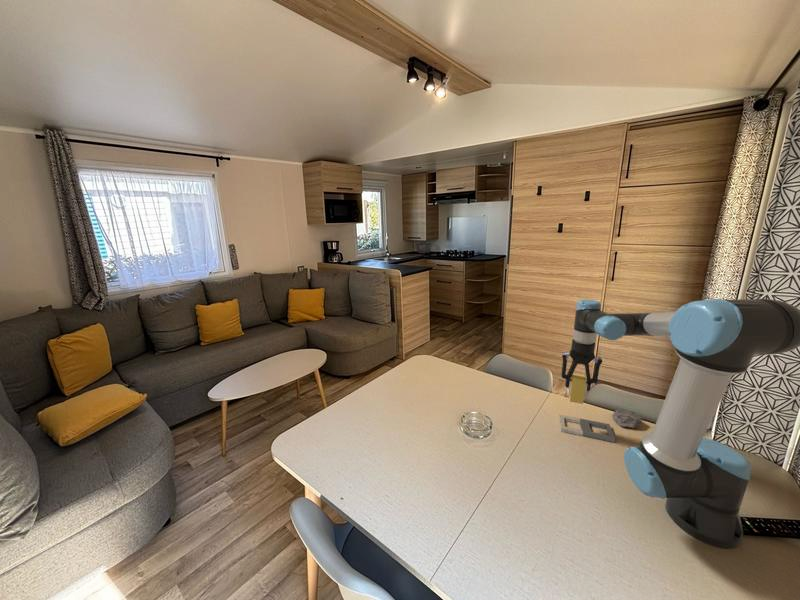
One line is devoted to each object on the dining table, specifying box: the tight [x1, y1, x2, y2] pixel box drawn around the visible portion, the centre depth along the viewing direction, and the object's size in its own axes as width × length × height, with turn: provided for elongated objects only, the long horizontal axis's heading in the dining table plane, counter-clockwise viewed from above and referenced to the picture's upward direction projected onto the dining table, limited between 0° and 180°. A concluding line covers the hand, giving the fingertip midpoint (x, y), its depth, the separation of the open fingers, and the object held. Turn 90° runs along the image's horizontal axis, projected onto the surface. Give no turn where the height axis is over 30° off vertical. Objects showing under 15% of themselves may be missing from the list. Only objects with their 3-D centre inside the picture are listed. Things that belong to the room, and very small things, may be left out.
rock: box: [611, 408, 643, 429], centre depth 127 cm, size 9×11×4 cm
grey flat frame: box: [558, 414, 616, 443], centre depth 124 cm, size 10×18×1 cm, turn 67°
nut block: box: [568, 373, 587, 405], centre depth 122 cm, size 4×4×10 cm
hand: (576, 395), depth 122 cm, fingers closed on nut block, 4 cm apart
